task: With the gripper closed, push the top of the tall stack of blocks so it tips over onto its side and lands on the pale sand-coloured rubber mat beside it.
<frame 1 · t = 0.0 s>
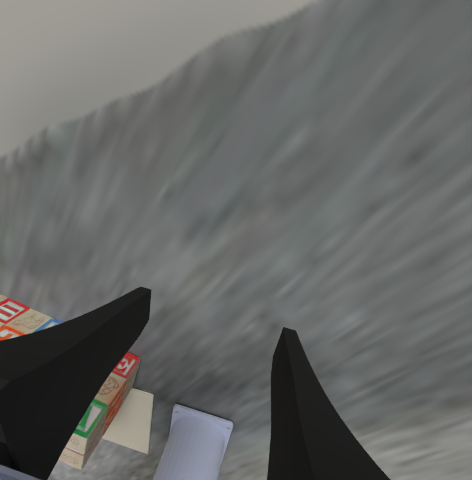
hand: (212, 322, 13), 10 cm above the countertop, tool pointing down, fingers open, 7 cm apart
stack of blocks: (63, 337, 32), on the countertop
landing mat: (68, 398, 36), on the countertop
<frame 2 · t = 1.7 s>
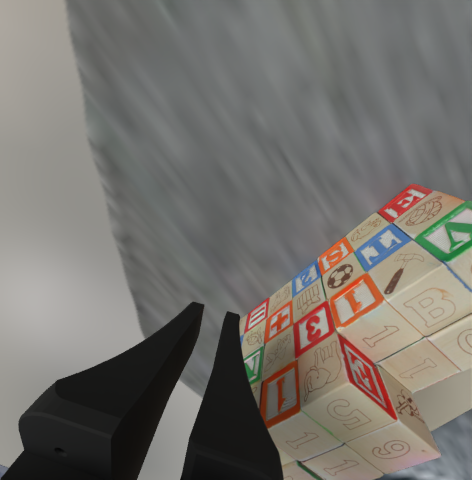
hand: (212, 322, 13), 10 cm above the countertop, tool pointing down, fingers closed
stack of blocks: (326, 288, 23), on the countertop
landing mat: (432, 358, 23), on the countertop
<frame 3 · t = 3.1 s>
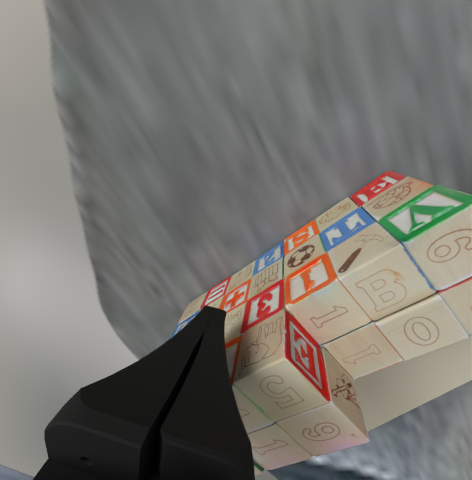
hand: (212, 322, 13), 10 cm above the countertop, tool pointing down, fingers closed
stack of blocks: (290, 272, 22), on the countertop, touching gripper
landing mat: (385, 354, 23), on the countertop
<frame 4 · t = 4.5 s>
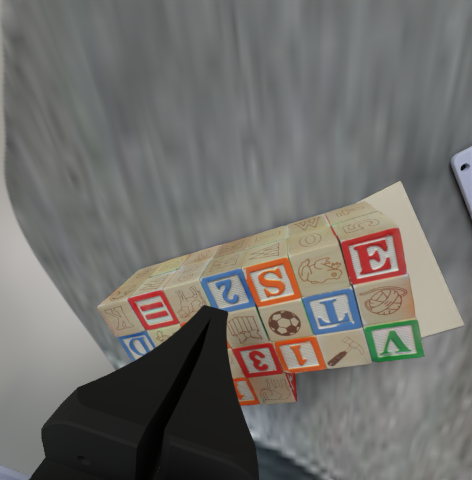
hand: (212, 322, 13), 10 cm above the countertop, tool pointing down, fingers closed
stack of blocks: (227, 251, 18), point 3 cm above the countertop, touching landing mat
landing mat: (286, 315, 24), on the countertop
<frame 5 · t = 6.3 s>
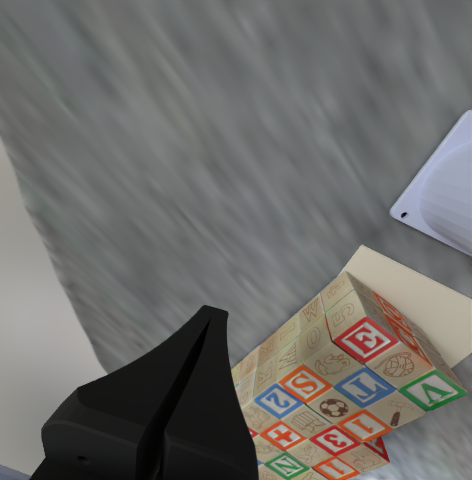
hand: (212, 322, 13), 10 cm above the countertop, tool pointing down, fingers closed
stack of blocks: (263, 360, 23), point 3 cm above the countertop, touching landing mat
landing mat: (344, 373, 26), on the countertop
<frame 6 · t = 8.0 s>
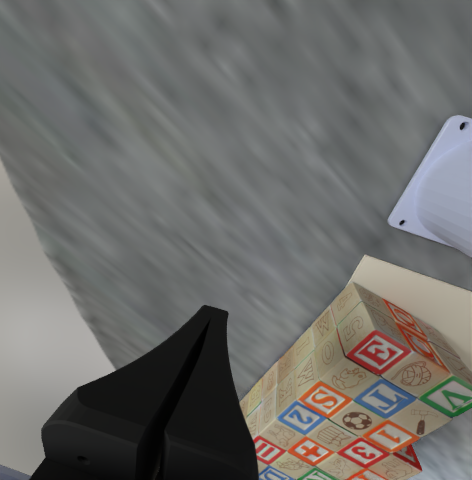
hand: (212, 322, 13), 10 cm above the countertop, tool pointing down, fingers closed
stack of blocks: (282, 376, 23), point 3 cm above the countertop, touching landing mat
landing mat: (367, 381, 26), on the countertop
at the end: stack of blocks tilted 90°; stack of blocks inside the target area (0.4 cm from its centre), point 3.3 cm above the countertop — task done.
